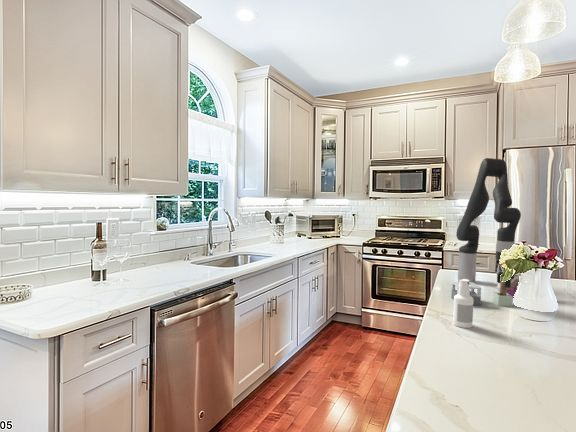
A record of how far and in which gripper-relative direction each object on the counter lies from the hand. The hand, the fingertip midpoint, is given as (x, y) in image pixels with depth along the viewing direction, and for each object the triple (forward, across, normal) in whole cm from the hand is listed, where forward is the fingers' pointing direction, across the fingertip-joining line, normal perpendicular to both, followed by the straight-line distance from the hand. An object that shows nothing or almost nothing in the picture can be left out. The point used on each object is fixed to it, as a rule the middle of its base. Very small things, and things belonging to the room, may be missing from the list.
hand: (503, 285), depth 166 cm
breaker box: (+9, -1, -16) cm, 18 cm away
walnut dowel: (+8, 0, 0) cm, 9 cm away
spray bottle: (+9, +32, -27) cm, 43 cm away
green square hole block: (+9, 0, 0) cm, 9 cm away
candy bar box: (+9, -16, +10) cm, 21 cm away
